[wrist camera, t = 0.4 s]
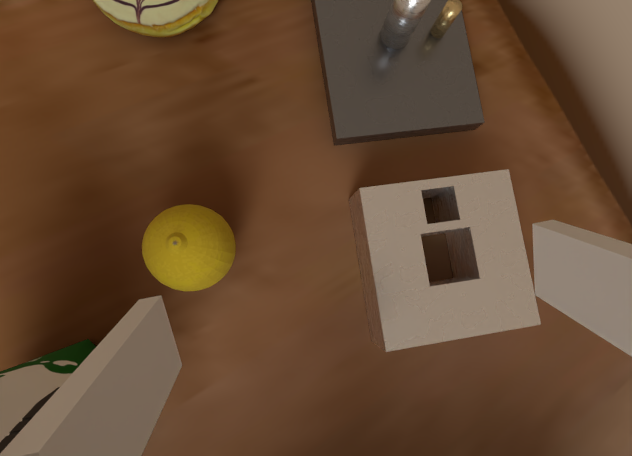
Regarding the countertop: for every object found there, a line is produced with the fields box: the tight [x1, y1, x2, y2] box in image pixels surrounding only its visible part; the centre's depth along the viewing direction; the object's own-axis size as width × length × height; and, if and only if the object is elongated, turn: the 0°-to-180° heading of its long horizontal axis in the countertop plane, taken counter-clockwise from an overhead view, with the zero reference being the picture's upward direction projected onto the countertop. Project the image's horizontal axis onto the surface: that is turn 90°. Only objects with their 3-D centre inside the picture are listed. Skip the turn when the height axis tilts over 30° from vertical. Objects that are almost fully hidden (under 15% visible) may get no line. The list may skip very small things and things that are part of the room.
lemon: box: [142, 204, 236, 291], centre depth 24 cm, size 6×6×8 cm
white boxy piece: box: [349, 169, 541, 352], centre depth 28 cm, size 11×11×4 cm
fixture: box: [311, 0, 484, 145], centre depth 28 cm, size 16×12×7 cm
